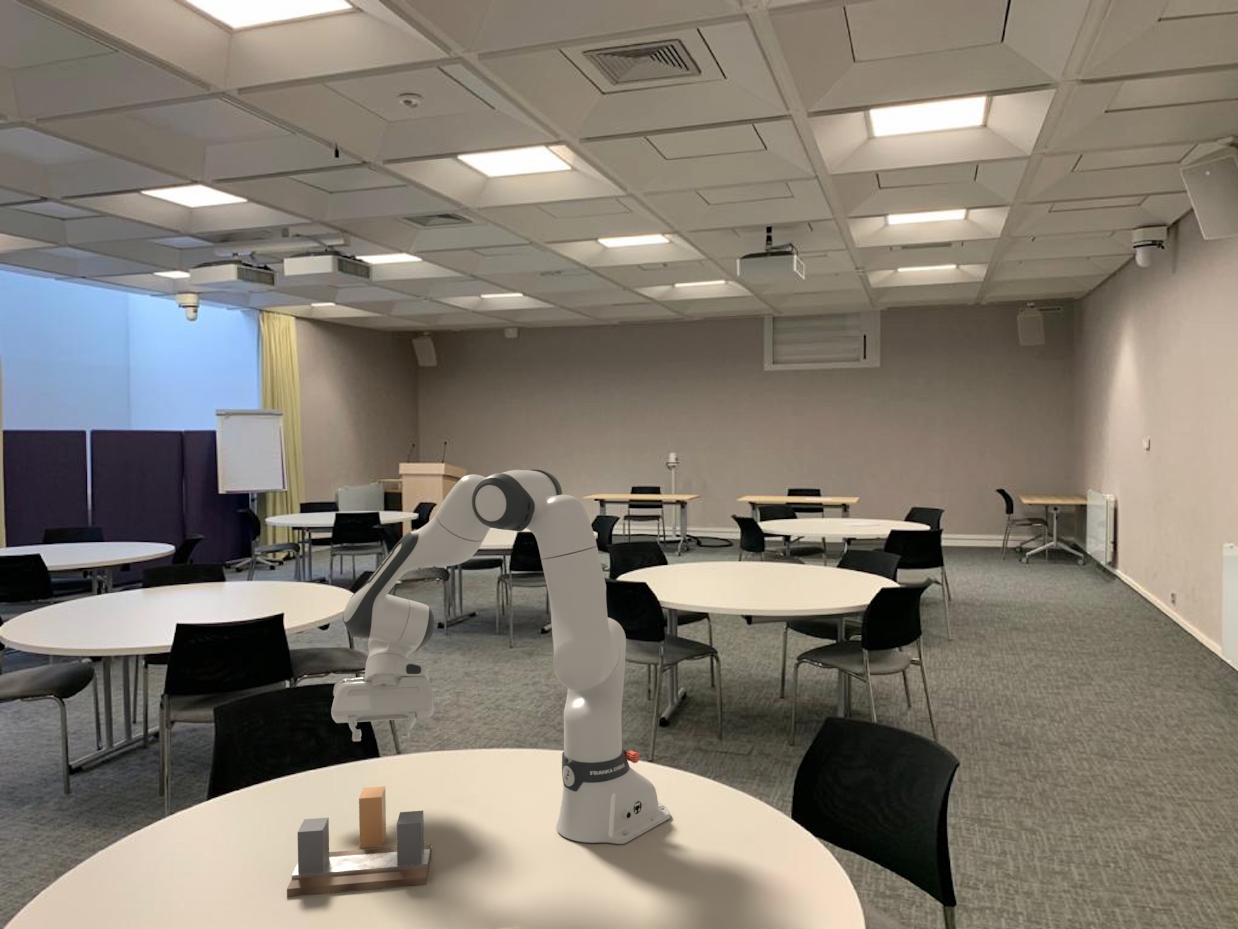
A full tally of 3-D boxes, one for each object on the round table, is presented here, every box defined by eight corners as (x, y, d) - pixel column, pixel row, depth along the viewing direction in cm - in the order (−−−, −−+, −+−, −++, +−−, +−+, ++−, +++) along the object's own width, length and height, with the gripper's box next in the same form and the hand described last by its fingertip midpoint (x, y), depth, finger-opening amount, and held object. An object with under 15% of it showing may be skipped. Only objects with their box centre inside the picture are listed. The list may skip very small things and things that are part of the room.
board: (431, 850, 150) (431, 844, 150) (426, 884, 138) (425, 877, 138) (303, 861, 147) (303, 854, 147) (286, 896, 135) (286, 889, 135)
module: (386, 834, 157) (385, 786, 157) (382, 846, 152) (381, 797, 152) (364, 835, 157) (363, 787, 157) (359, 848, 152) (359, 798, 152)
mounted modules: (424, 850, 147) (423, 810, 147) (421, 864, 142) (420, 822, 142) (305, 859, 144) (304, 819, 144) (298, 874, 139) (297, 832, 139)
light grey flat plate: (430, 852, 147) (430, 849, 147) (427, 867, 142) (427, 864, 142) (299, 863, 144) (299, 859, 144) (291, 879, 138) (291, 875, 138)
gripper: (332, 671, 172) (324, 734, 163) (434, 666, 175) (431, 727, 166) (337, 687, 177) (328, 749, 167) (435, 682, 180) (433, 742, 170)
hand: (380, 738), depth 167 cm, fingers open, 8 cm apart
